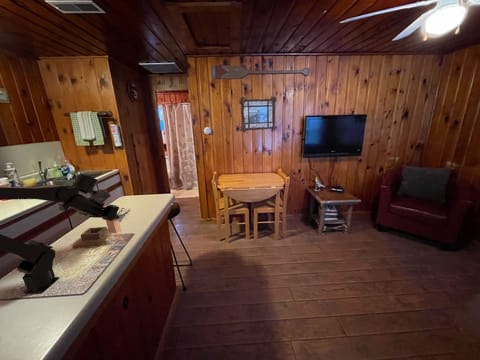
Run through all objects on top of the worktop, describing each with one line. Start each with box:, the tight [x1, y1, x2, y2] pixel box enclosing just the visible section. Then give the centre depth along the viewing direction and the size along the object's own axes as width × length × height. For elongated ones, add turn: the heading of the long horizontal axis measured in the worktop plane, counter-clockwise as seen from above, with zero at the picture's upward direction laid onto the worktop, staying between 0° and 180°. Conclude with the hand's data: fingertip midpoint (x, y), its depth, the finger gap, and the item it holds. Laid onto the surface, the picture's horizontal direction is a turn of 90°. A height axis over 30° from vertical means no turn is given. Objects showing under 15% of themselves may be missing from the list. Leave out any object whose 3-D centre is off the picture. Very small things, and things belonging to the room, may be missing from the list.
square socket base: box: [72, 226, 113, 249], centre depth 95 cm, size 14×11×4 cm
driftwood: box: [117, 207, 130, 223], centre depth 120 cm, size 21×7×2 cm, turn 10°
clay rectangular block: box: [103, 204, 122, 234], centre depth 90 cm, size 2×5×12 cm, turn 69°
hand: (114, 217), depth 91 cm, fingers closed on clay rectangular block, 5 cm apart
